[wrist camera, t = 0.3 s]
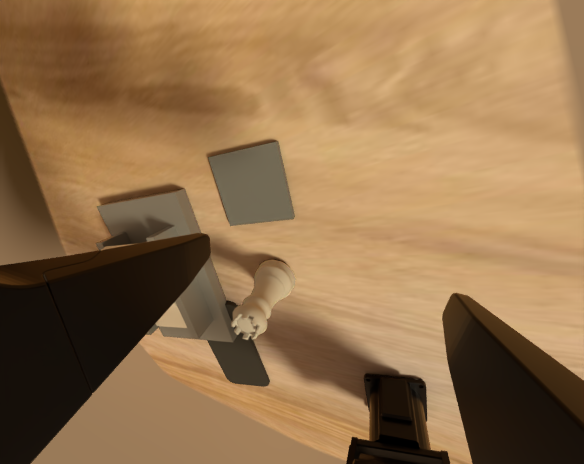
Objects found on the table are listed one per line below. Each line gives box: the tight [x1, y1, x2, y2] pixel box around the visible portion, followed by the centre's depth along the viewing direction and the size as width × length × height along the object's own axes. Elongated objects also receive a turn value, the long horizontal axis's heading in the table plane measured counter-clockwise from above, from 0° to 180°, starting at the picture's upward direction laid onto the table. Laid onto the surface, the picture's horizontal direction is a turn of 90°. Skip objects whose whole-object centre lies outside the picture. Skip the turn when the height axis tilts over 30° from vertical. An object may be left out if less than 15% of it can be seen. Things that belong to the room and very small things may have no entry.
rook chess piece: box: [231, 260, 296, 340], centre depth 24 cm, size 4×4×8 cm
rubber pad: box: [208, 141, 295, 226], centre depth 23 cm, size 7×7×1 cm
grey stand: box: [96, 189, 237, 342], centre depth 30 cm, size 20×12×4 cm, turn 12°
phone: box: [207, 301, 270, 386], centre depth 34 cm, size 7×1×15 cm
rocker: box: [101, 244, 187, 328], centre depth 28 cm, size 12×6×2 cm, turn 13°
